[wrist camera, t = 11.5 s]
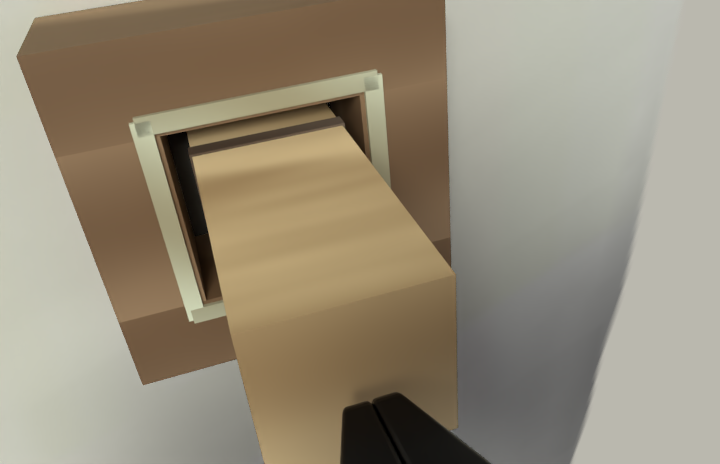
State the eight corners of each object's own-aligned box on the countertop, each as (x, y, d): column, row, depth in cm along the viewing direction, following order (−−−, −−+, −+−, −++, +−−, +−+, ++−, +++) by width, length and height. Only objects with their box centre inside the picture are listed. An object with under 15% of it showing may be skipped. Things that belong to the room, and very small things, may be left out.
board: (411, 242, 20) (453, 300, 18) (140, 312, 18) (143, 388, 16) (394, -41, 16) (446, -17, 13) (34, 18, 14) (16, 58, 12)
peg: (325, 190, 18) (460, 429, 11) (207, 218, 18) (267, 490, 10) (309, 77, 17) (458, 270, 9) (178, 102, 16) (226, 333, 9)
